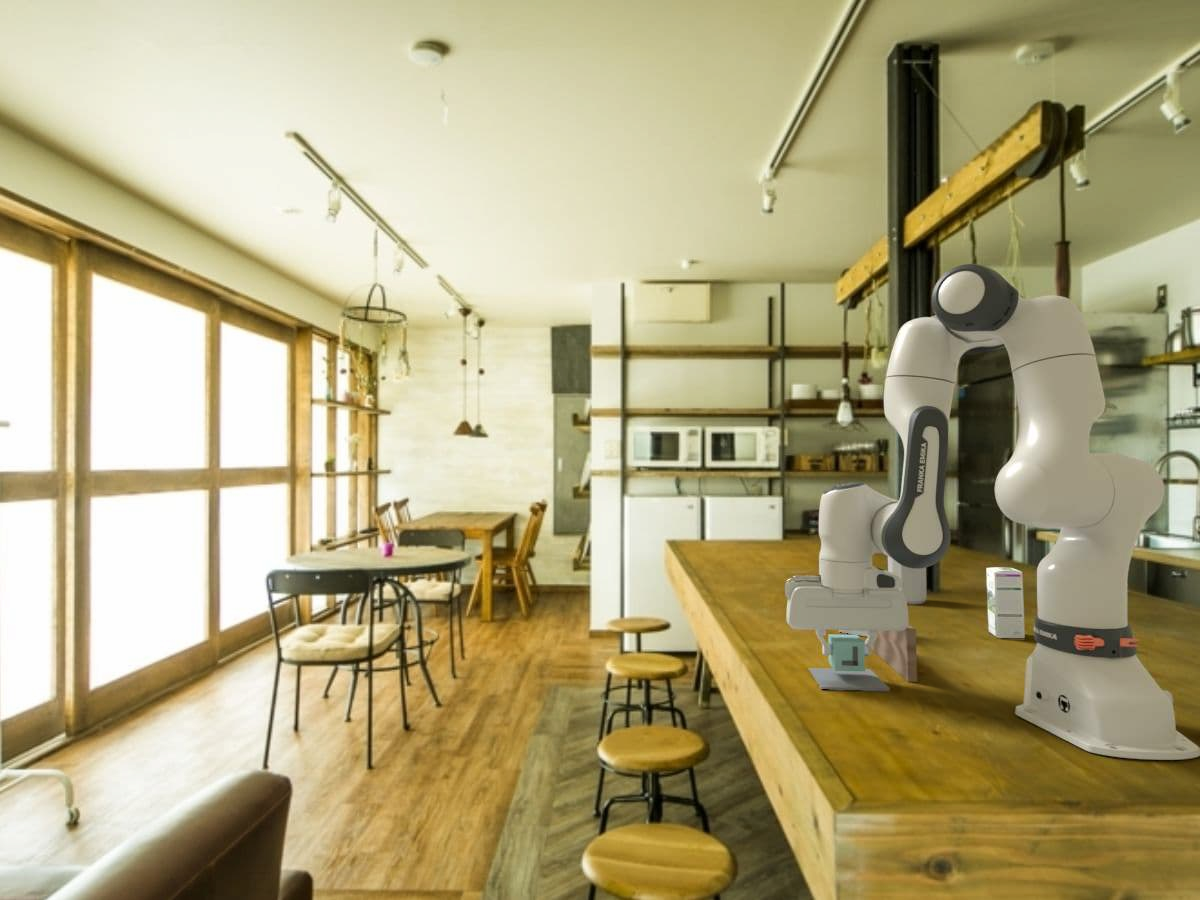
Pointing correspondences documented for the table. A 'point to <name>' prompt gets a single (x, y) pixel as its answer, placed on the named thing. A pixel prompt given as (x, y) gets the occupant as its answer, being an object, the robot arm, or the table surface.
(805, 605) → the robot arm
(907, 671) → the walnut screen
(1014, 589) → the syrup box
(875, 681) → the slate pad
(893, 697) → the table surface
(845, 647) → the letter block
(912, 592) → the jar
